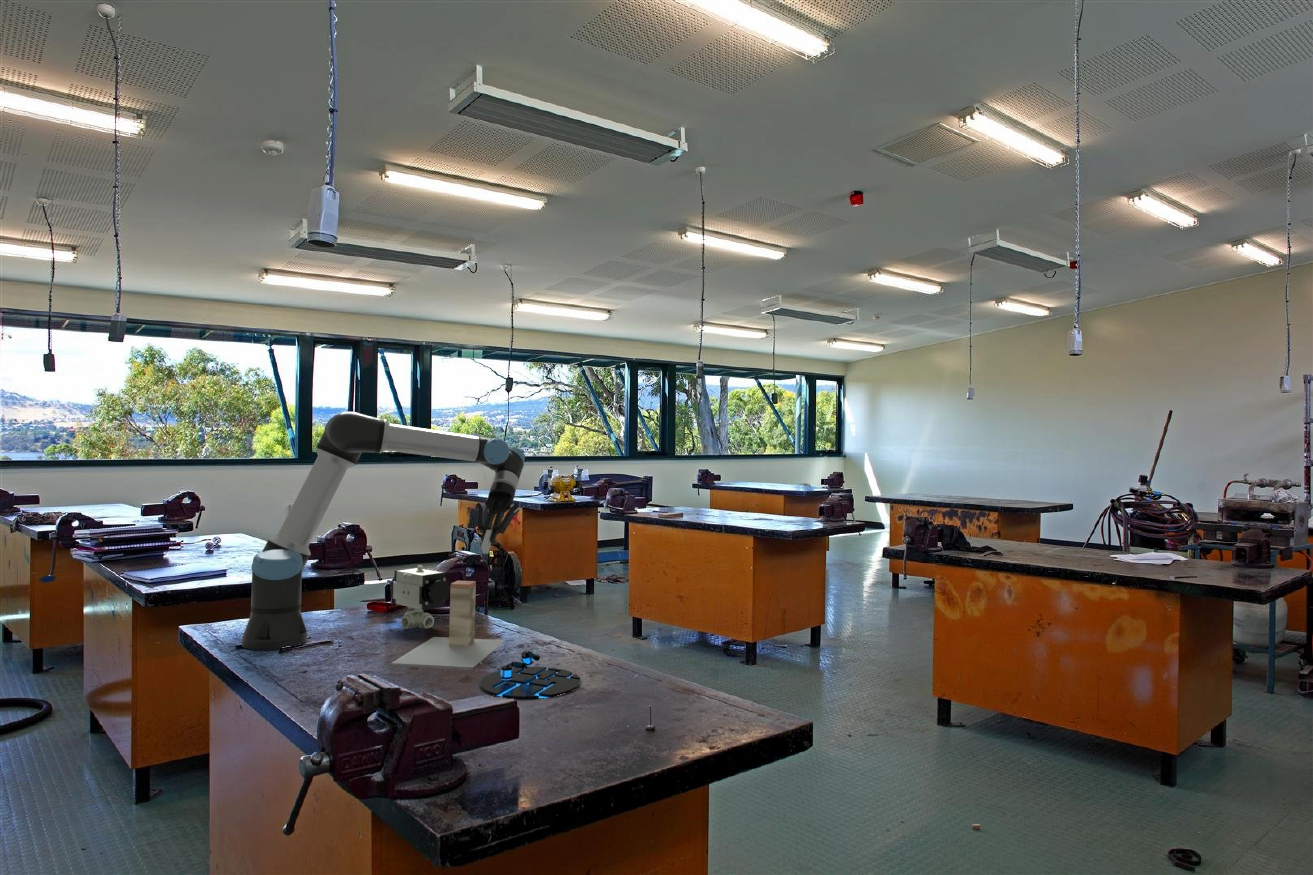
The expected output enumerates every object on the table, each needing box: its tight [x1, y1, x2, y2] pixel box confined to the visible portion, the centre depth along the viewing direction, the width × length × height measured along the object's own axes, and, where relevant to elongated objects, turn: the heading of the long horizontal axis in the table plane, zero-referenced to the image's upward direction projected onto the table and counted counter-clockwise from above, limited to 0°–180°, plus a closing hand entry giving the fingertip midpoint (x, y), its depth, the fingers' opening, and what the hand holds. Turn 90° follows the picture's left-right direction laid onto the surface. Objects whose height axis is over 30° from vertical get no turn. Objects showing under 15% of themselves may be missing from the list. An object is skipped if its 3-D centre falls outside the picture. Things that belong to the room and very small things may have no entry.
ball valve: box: [390, 564, 450, 630], centre depth 217 cm, size 18×8×18 cm, turn 55°
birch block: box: [448, 580, 477, 647], centre depth 198 cm, size 5×5×16 cm
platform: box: [478, 649, 582, 701], centre depth 168 cm, size 22×22×6 cm
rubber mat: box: [390, 636, 506, 671], centre depth 191 cm, size 26×20×1 cm
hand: (484, 550), depth 215 cm, fingers closed
